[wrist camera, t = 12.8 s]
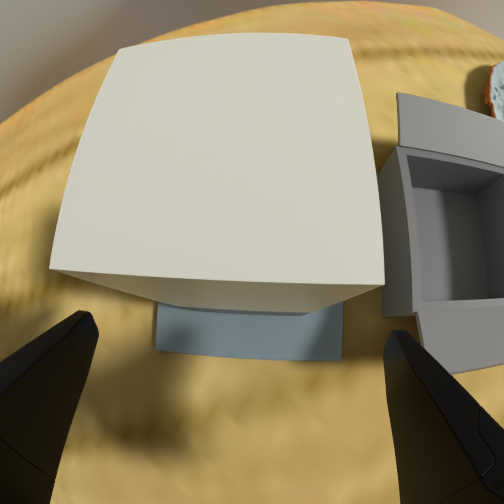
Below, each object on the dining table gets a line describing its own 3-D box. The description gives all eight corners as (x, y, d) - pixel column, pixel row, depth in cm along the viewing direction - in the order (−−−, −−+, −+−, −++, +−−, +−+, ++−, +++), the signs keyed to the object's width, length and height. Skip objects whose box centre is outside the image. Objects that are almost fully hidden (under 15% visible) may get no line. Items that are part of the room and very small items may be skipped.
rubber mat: (339, 359, 15) (341, 360, 15) (157, 349, 16) (155, 350, 16) (338, 186, 18) (339, 183, 17) (175, 183, 18) (173, 180, 18)
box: (301, 316, 16) (384, 284, 4) (198, 311, 16) (49, 268, 4) (302, 217, 17) (348, 38, 5) (206, 215, 17) (118, 49, 6)
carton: (488, 353, 15) (544, 354, 9) (379, 366, 15) (424, 379, 10) (467, 159, 18) (505, 120, 13) (369, 142, 18) (394, 89, 13)
